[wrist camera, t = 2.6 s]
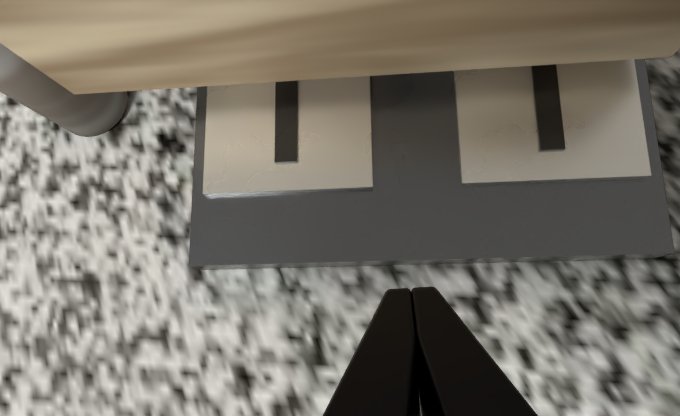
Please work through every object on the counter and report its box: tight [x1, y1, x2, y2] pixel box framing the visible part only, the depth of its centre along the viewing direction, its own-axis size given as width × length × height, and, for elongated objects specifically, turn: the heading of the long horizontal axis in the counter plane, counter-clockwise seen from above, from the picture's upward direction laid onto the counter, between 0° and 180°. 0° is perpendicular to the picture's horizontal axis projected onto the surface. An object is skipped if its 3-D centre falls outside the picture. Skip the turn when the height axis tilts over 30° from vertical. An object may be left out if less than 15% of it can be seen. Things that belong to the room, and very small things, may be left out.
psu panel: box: [189, 59, 675, 270], centre depth 19 cm, size 12×16×2 cm
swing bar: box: [0, 0, 680, 137], centre depth 15 cm, size 3×22×10 cm, turn 91°
